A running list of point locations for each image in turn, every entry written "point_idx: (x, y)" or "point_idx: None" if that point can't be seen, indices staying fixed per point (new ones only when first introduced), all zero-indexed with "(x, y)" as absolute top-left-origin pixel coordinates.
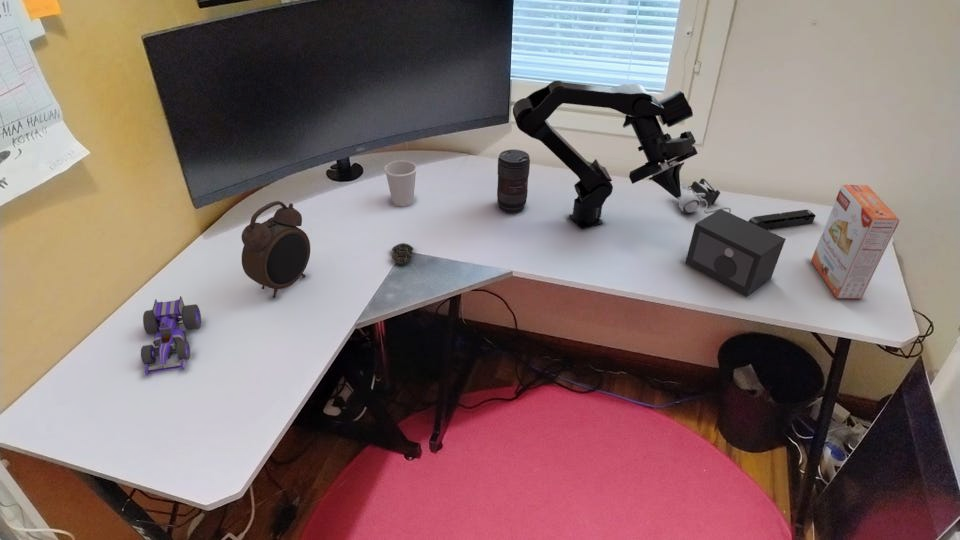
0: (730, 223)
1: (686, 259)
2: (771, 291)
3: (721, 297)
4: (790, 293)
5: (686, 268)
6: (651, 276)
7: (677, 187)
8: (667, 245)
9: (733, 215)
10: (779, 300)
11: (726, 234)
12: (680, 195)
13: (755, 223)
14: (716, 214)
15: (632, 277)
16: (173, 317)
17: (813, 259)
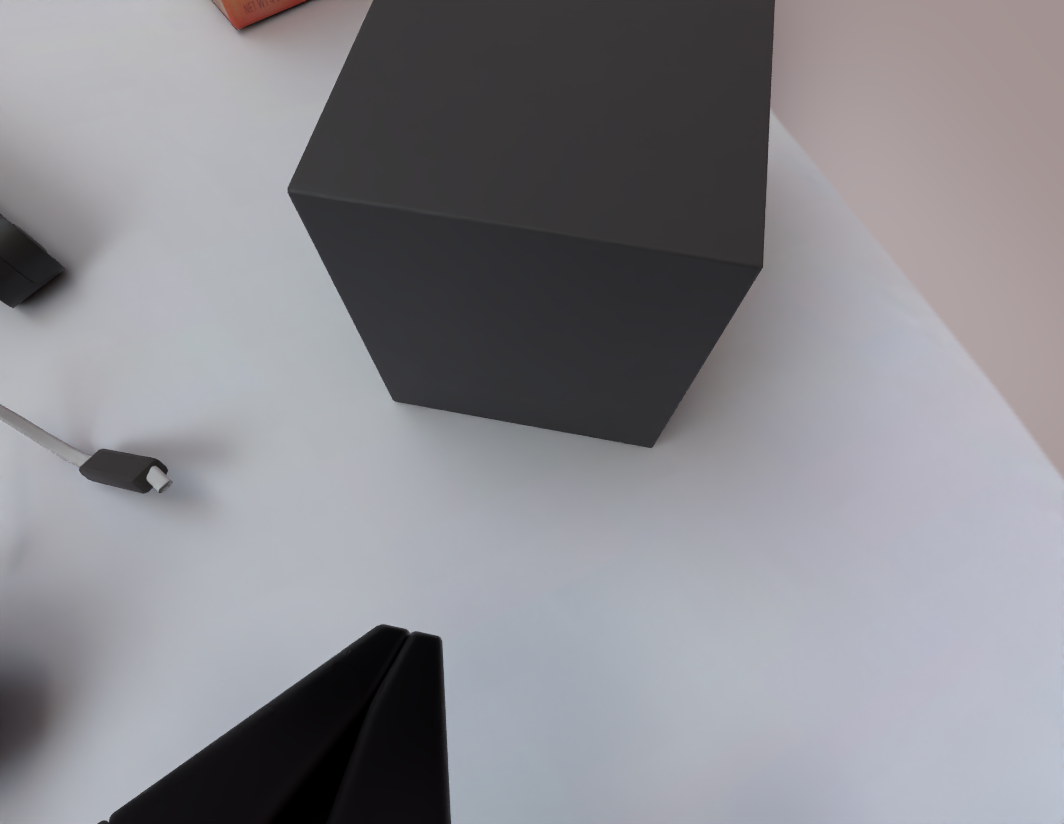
0: (515, 54)
1: (658, 435)
2: None
3: (781, 208)
4: None
5: (693, 421)
6: (936, 549)
7: (325, 758)
8: (540, 631)
9: (350, 77)
10: None
11: (713, 30)
12: (397, 627)
13: (24, 239)
14: (434, 180)
15: (1055, 646)
16: None
17: (244, 3)
